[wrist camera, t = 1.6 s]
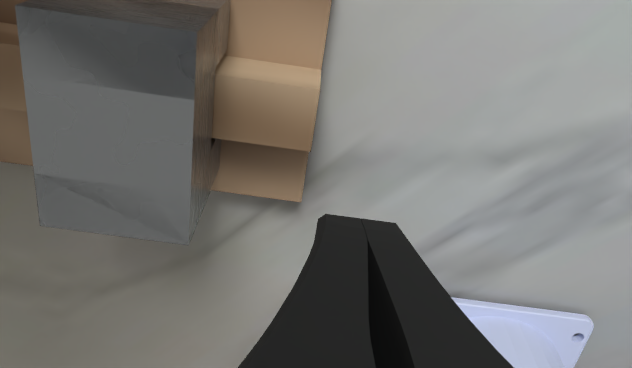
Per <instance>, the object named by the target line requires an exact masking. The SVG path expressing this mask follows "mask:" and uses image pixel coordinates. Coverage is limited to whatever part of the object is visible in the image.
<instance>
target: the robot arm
mask: <svg viewBox="0 0 632 368" xmlns="http://www.w3.org/2000/svg"><path fill="white" fill-rule="evenodd" d="M593 328H594V325H593V322H592V320H591V319H590V318H589V317H588V316H587V315H584V314H576V313H569V312H561V311H553V310H546V309H538V308H530V307H522V306H515V305H507V304H499V303H492V302H484V301H476V300H469V299H461V298H453V297H450V295H449V294H448V293H447V292H446V290H445V289H444V288H443V287H442V285H441V284H440V283H439V282H438V280H437V279H436V278H435V276H434V275H433V274H432V272H431V271H430V270H429V268H428V267H427V265H426V264H425V263H424V261H423V260H422V259H421V257H420V256H419V255H418V253H417V252H416V250H415V249H414V248H413V246H412V245H411V243H410V242H409V241H408V239H407V238H406V237H405V235H404V234H403V232H402V231H401V230H400V228H399V227H398V226H397V224H396V223H391V222H383V221H375V220H367V219H360V218H352V217H344V216H337V215H329V214H325V215H324V216H322V217H320V218H319V219H318V223H317V229H316V235H315V240H314V244H313V247H312V249H311V252H310V254H309V257H308V259H307V261H306V263H305V265H304V267H303V269H302V271H301V273H300V275H299V277H298V279H297V281H296V283H295V285H294V287H293V288H292V290H291V292H290V293H289V295H288V297H287V298H286V300H285V302H284V303H283V305H282V306H281V308H280V310H279V311H278V313H277V315H276V316H275V318H274V319H273V321H272V322H271V324H270V325H269V327H268V328H267V330H266V331H265V332H264V334H263V335H262V337H261V338H260V339H259V341H258V342H257V344H256V345H255V346H254V347H253V349H252V350H251V351H250V353H249V354H248V355H247V357H246V358H245V359H244V360H243V362H242V363H241V364H240V365H239V367H238V368H574V366H575V364H576V362H577V360H578V358H579V356H580V355H581V353H582V351H583V349H584V347H585V345H586V343H587V341H588V339H589V337H590V335H591V333H592V331H593ZM576 333H579V334H578V335H575V336H573V335H574V334H576Z"/></svg>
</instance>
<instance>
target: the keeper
mask: <svg viewBox="0 0 632 368" xmlns="http://www.w3.org/2000/svg"><path fill="white" fill-rule="evenodd" d="M230 2H231V0H28V1H25V2H22V3H20V4H17V5H15V11H16V20H17V29H18V37H19V46H20V55H21V64H22V72H23V81H24V90H25V99H26V107H27V116H28V125H29V134H30V143H31V151H32V160H33V169H34V178H35V186H36V195H37V204H38V213H39V221H40V226H46V227H53V228H61V229H68V230H76V231H84V232H91V233H99V234H107V235H114V236H122V237H129V238H137V239H145V240H152V241H160V242H168V243H175V244H183V245H189V243H190V240H191V238H192V235H193V233H194V230H195V228H196V225H197V223H198V220H199V218H200V215H201V213H202V210H203V208H204V205H205V203H206V200H207V198H208V195H209V193H210V190H211V188H212V185H213V183H214V180H215V178H216V175H217V173H218V170H219V167H220V152H221V139H217V138H211V137H212V120H213V102H214V85H215V67H216V66H217V64H218V63H219V61H220V60H221V58H222V57H223V55H224V54H225V52H226V50H227V47H228V32H229V17H230Z"/></svg>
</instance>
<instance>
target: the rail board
mask: <svg viewBox="0 0 632 368" xmlns="http://www.w3.org/2000/svg"><path fill="white" fill-rule="evenodd" d="M25 1H28V0H0V161H1V162H8V163H16V164H23V165H30V166H33V160H32V151H31V143H30V134H29V125H28V116H27V107H26V99H25V90H24V81H23V72H22V64H21V55H20V46H19V37H18V29H17V20H16V11H15V5H17V4H20V3H22V2H25ZM331 2H332V0H231V2H230V17H229V32H228V47H227V50H226V52H225V54H224V55H223V57H222V58H221V60H220V61H219V63H218V64H217V66H216V67H215V85H214V102H213V120H212V137H211V138H217V139H221V152H220V167H219V170H218V173H217V175H216V178H215V180H214V183H213V185H212V188H211V190H214V191H221V192H229V193H236V194H243V195H251V196H258V197H265V198H273V199H280V200H287V201H295V202H301V200H302V193H303V187H304V180H305V174H306V167H307V160H308V154H309V151H310V152H311V146H312V139H313V133H314V126H315V120H316V113H317V107H318V100H319V94H320V83H321V68H322V61H323V55H324V48H325V41H326V35H327V28H328V21H329V15H330V8H331Z"/></svg>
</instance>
